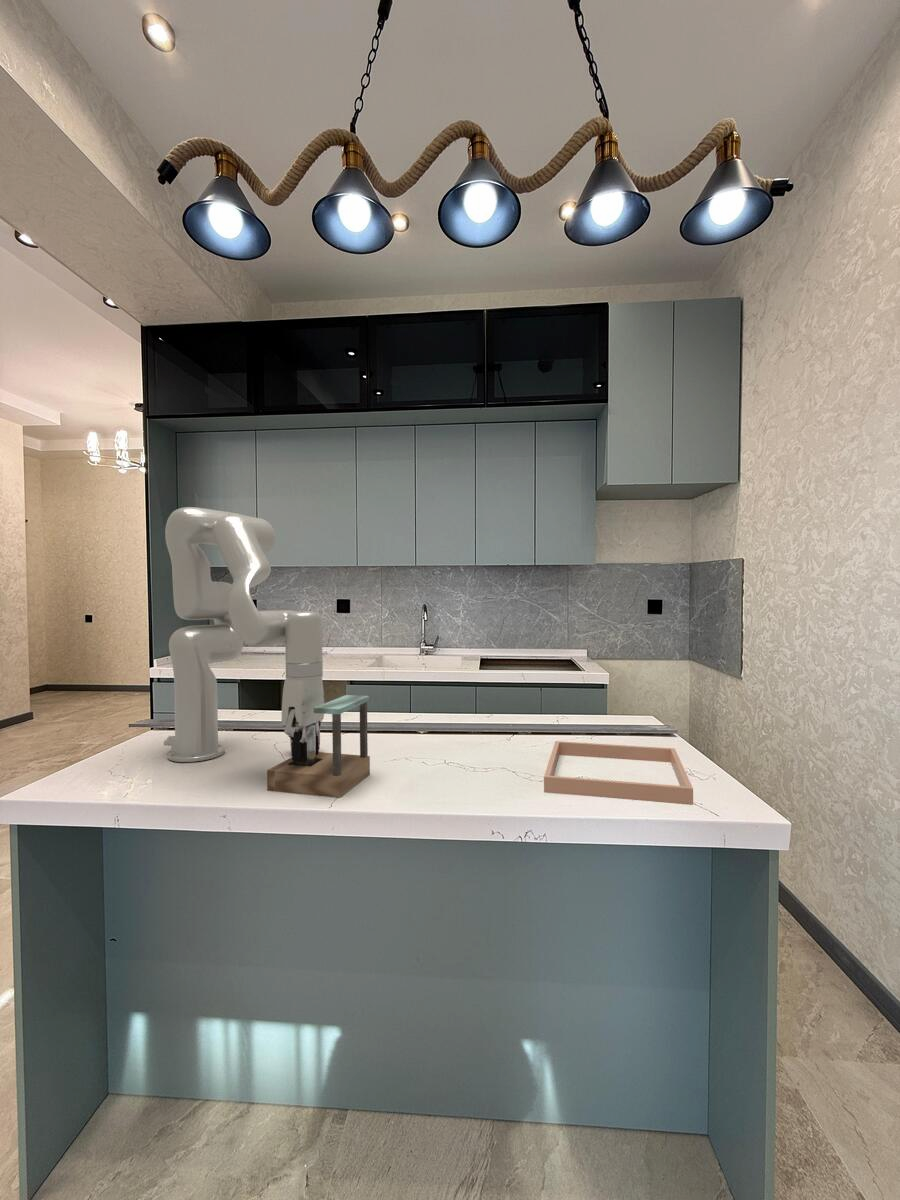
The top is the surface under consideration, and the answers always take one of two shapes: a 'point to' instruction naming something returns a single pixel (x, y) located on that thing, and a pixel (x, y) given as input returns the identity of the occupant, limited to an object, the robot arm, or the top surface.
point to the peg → (309, 746)
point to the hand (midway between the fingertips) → (305, 756)
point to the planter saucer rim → (619, 788)
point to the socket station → (327, 759)
